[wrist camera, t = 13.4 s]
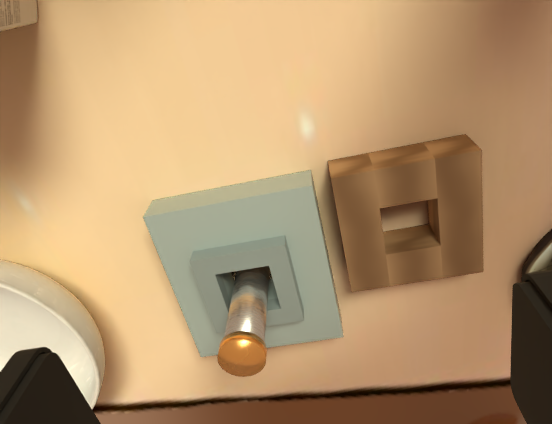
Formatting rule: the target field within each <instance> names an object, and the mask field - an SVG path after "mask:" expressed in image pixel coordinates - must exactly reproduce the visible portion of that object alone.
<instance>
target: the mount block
mask: <svg viewBox="0 0 552 424" xmlns="http://www.w3.org/2000/svg"><path fill="white" fill-rule="evenodd" d="M328 165H329V171H330V177H331V183H332V188H333V193H334V199H335V204H336V210H337V215H338V221H339V226H340V231H341V237H342V242H343V248H344V253H345V258H346V264H347V269H348V275H349V280H350V286H351V291H352V292H356V291H362V290H369V289H375V288H382V287H388V286H395V285H401V284H408V283H414V282H421V281H427V280H434V279H440V278H447V277H453V276H460V275H466V274H473V273H479V272H483V209H482V150H481V149H480V148H479V147H478V146H477V145H476V144H475V143H474V142H473V141H472V140H471V139H470V138H469V137H468V136H467V135H466V134H464V135H459V136H453V137H448V138H443V139H438V140H433V141H428V142H423V143H417V144H412V145H407V146H402V147H397V148H392V149H387V150H382V151H376V152H371V153H366V154H361V155H356V156H351V157H346V158H340V159H335V160H330V161H328ZM425 200H428V212H429V224H427V225H421V226H415V227H409V228H404V229H398V230H392V231H386V232H383V229H382V222H381V214H380V208H385V207H391V206H397V205H402V204H408V203H414V202H419V201H425Z"/></svg>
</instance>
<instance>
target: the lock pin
mask: <svg viewBox="0 0 552 424" xmlns="http://www.w3.org/2000/svg"><path fill="white" fill-rule="evenodd" d="M269 276H270V268H269V266H264V267H258V268H252V269H246V270H240V271H236V276H235V281H234V287H233V292H232V297H231V303H230V308H229V313H228V319H227V324H226V330H225V335H224V338H223V339H222V341H221V343H220V347H219V352H218V363H219V365H220V366H221V367H222V369H224V370H225V371H226V372H228V373H230V374H232V375H235V376H242V377H245V376H251V375H254V374H257V373H258V372H260V371H261V370H262V369H263V368H264V366H265V363H266V352H267V348H266V344H265V328H266V315H267V302H268V289H269Z"/></svg>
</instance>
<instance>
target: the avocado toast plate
mask: <svg viewBox="0 0 552 424" xmlns="http://www.w3.org/2000/svg"><path fill="white" fill-rule="evenodd" d="M547 270H552V229H551V230H550V231H549V232H548V233H547V234H546V235H545V236H544V237H543V238H542V239H541V240H540V242H539V243H538V244H537V245H536V247H535V248H534V250H533V252H532V253H531V255H530V256H529V258H528V259H527V261H526V262H525V264H524V266H523V269H522V277H523V275H524V274H527V273H533V272H540V271H547ZM522 277H521V282H522Z"/></svg>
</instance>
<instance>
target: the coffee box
mask: <svg viewBox="0 0 552 424" xmlns="http://www.w3.org/2000/svg"><path fill="white" fill-rule="evenodd" d="M37 21H38V13H37V0H0V32H1V31H5V30H9V29H15V28H18V27H22V26H26V25H30V24H34V23H37Z"/></svg>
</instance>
